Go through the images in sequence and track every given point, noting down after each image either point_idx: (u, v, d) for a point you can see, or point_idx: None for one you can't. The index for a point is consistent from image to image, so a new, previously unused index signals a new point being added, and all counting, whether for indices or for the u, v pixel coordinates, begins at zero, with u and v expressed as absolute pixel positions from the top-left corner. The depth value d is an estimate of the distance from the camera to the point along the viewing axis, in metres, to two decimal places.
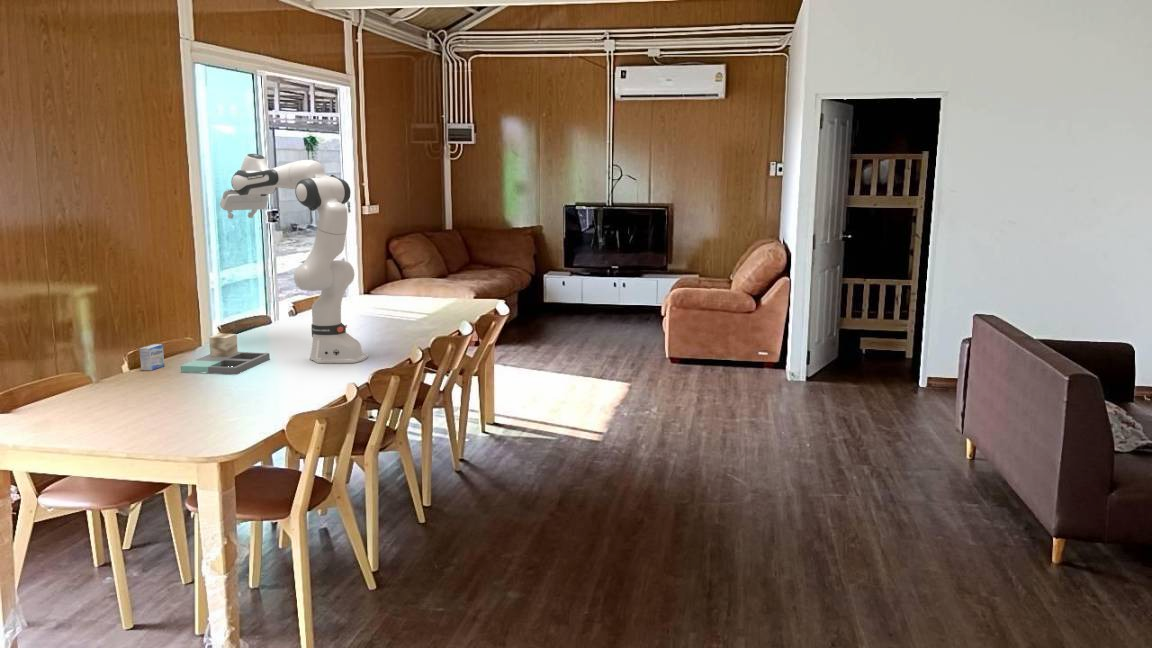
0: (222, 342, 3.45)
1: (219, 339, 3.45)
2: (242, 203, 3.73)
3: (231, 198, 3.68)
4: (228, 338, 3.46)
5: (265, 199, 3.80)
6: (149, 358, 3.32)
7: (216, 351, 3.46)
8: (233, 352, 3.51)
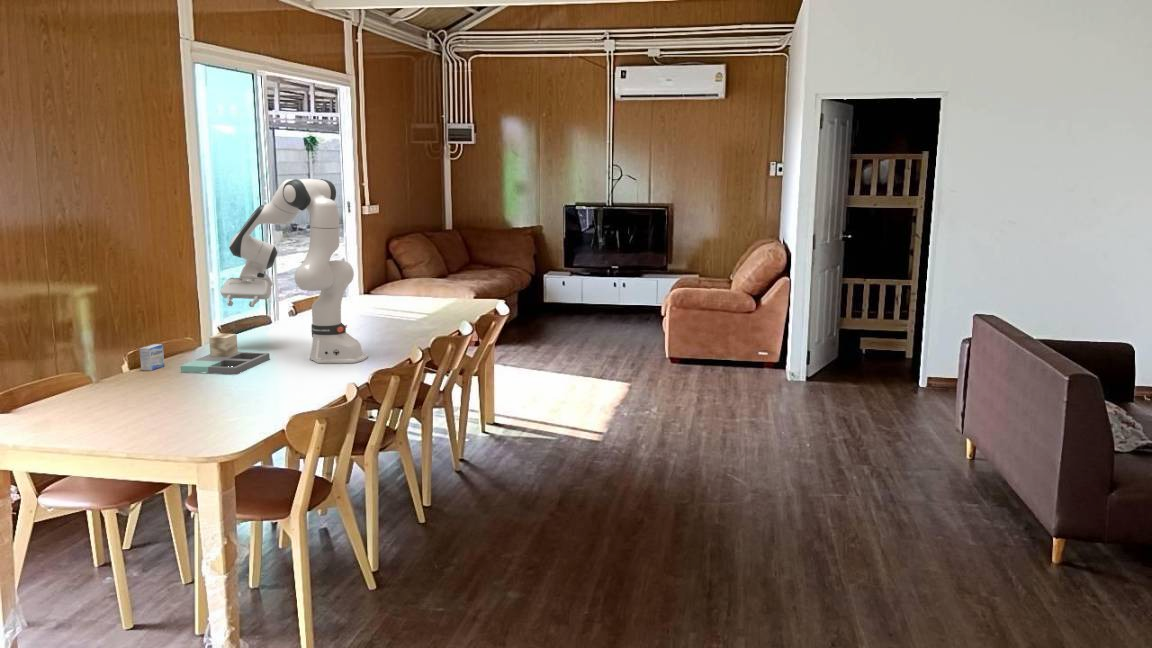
0: (222, 342, 3.45)
1: (219, 339, 3.45)
2: (240, 287, 3.65)
3: (229, 281, 3.67)
4: (228, 338, 3.46)
5: (264, 283, 3.64)
6: (149, 358, 3.32)
7: (216, 351, 3.46)
8: (233, 352, 3.51)
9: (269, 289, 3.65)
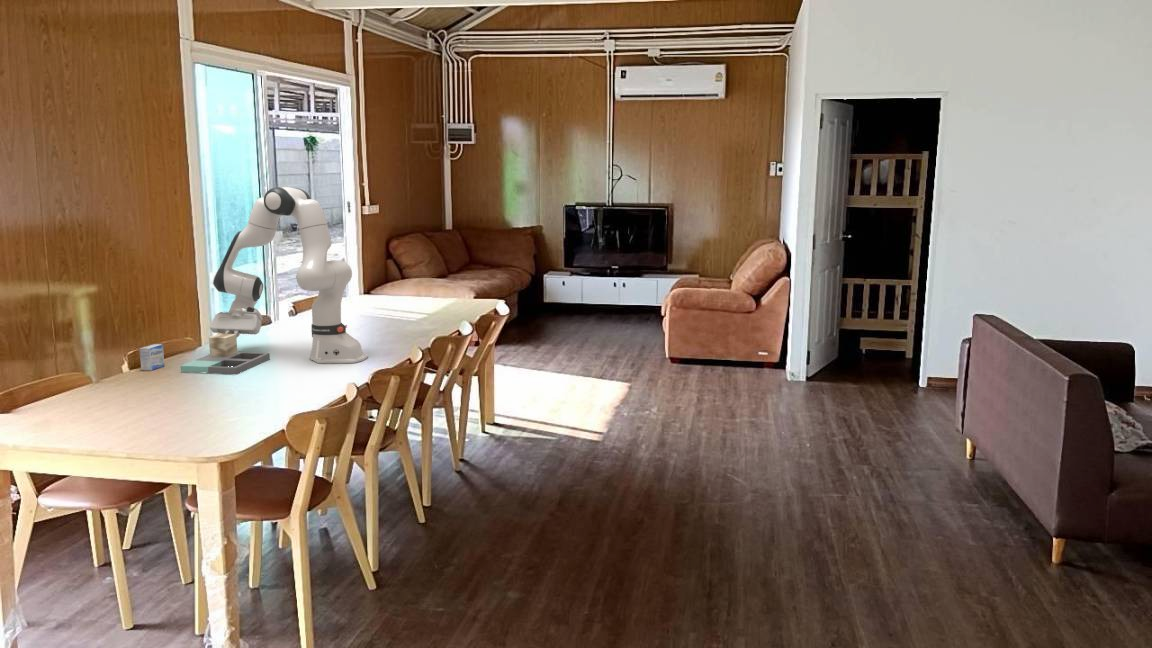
0: (222, 342, 3.45)
1: (219, 339, 3.45)
2: (229, 322, 3.57)
3: (218, 316, 3.59)
4: (228, 338, 3.46)
5: (254, 318, 3.56)
6: (149, 358, 3.32)
7: (215, 351, 3.46)
8: (233, 352, 3.50)
9: (259, 324, 3.57)
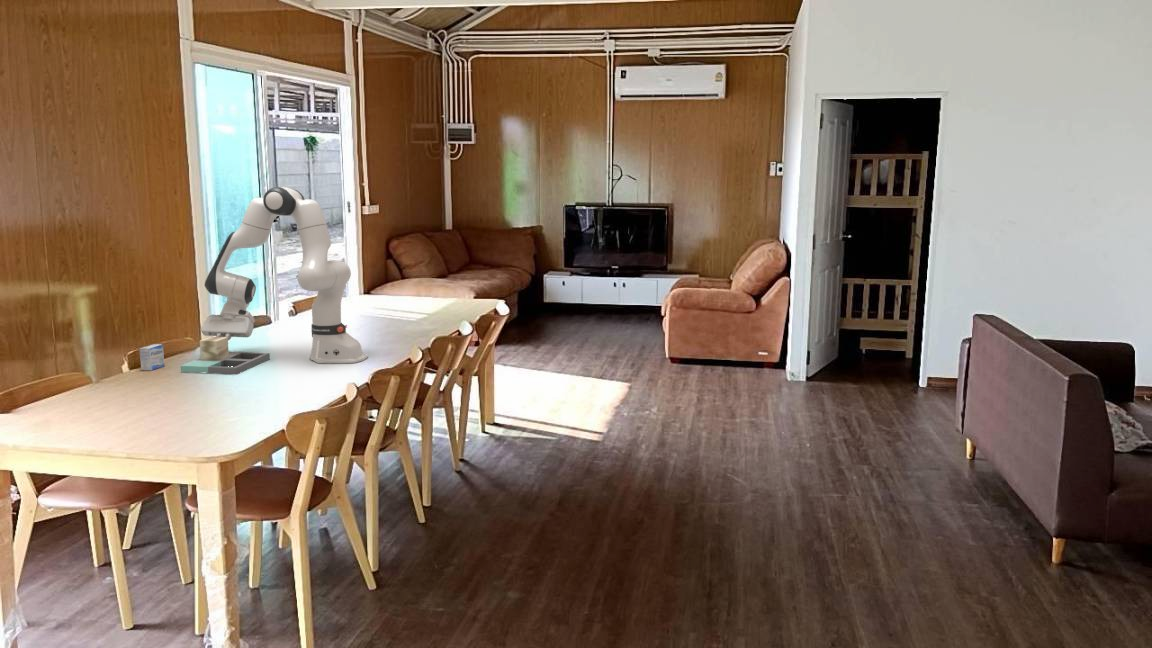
0: (213, 345, 3.39)
1: (210, 342, 3.39)
2: (221, 324, 3.51)
3: (209, 319, 3.53)
4: (219, 341, 3.40)
5: (246, 320, 3.50)
6: (149, 358, 3.32)
7: (206, 354, 3.40)
8: (224, 356, 3.44)
9: (251, 327, 3.51)
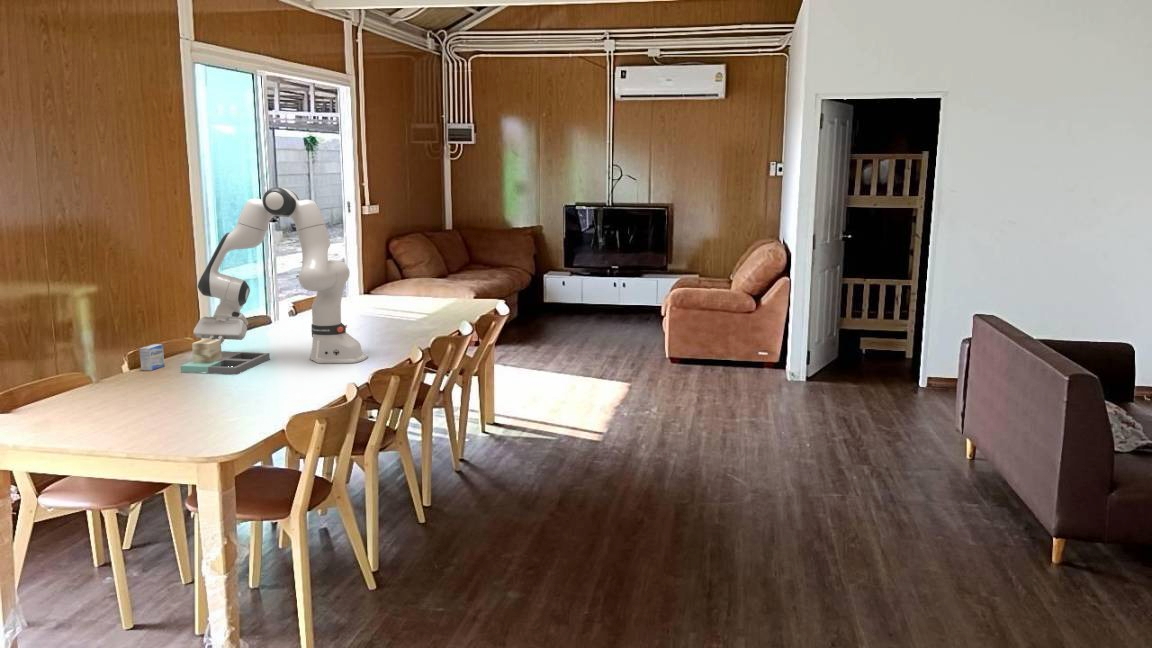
0: (206, 348, 3.34)
1: (202, 345, 3.34)
2: (214, 326, 3.46)
3: (202, 321, 3.48)
4: (212, 344, 3.35)
5: (239, 323, 3.45)
6: (149, 358, 3.32)
7: (199, 357, 3.35)
8: (217, 358, 3.39)
9: (244, 329, 3.46)
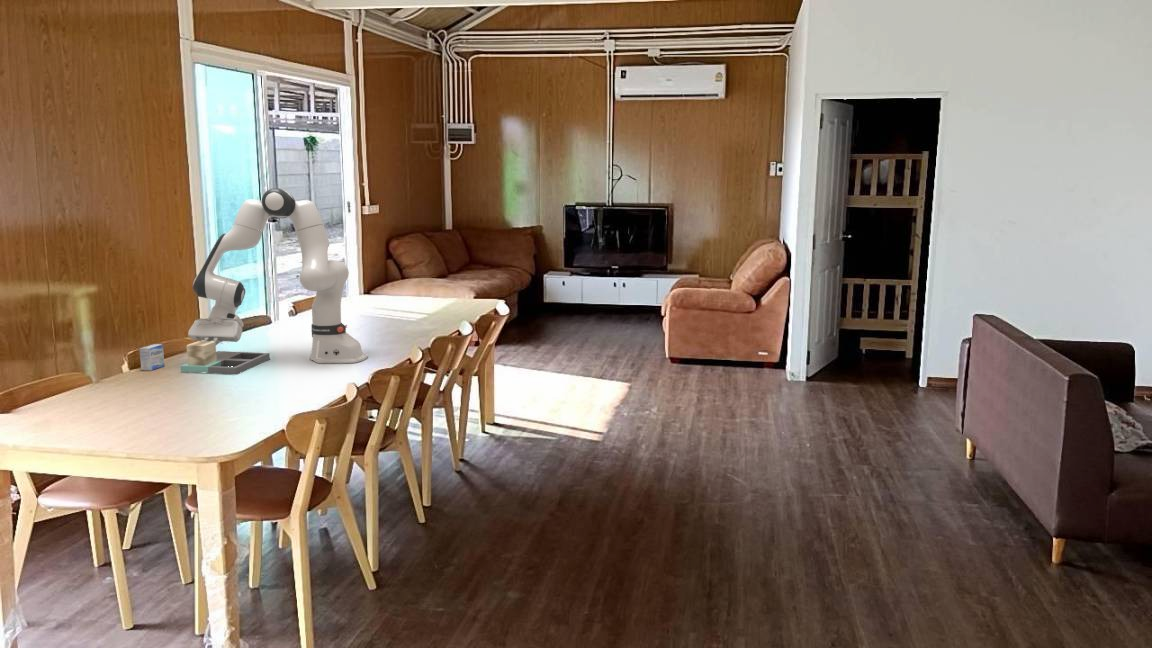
0: (200, 350, 3.30)
1: (197, 347, 3.30)
2: (208, 328, 3.43)
3: (197, 322, 3.45)
4: (206, 346, 3.32)
5: (234, 324, 3.42)
6: (149, 358, 3.32)
7: (193, 359, 3.31)
8: (212, 360, 3.36)
9: (240, 331, 3.43)
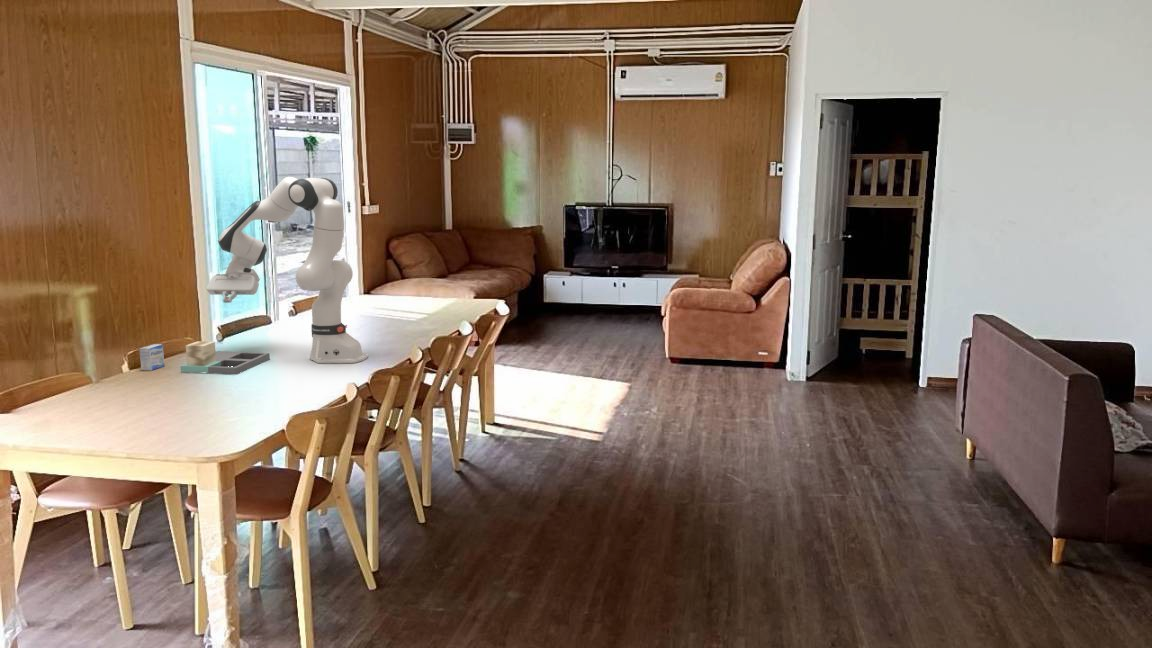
0: (199, 350, 3.30)
1: (196, 347, 3.30)
2: (226, 283, 3.56)
3: (215, 278, 3.58)
4: (205, 346, 3.31)
5: (251, 278, 3.55)
6: (149, 358, 3.32)
7: (192, 360, 3.31)
8: (211, 361, 3.35)
9: (256, 284, 3.56)
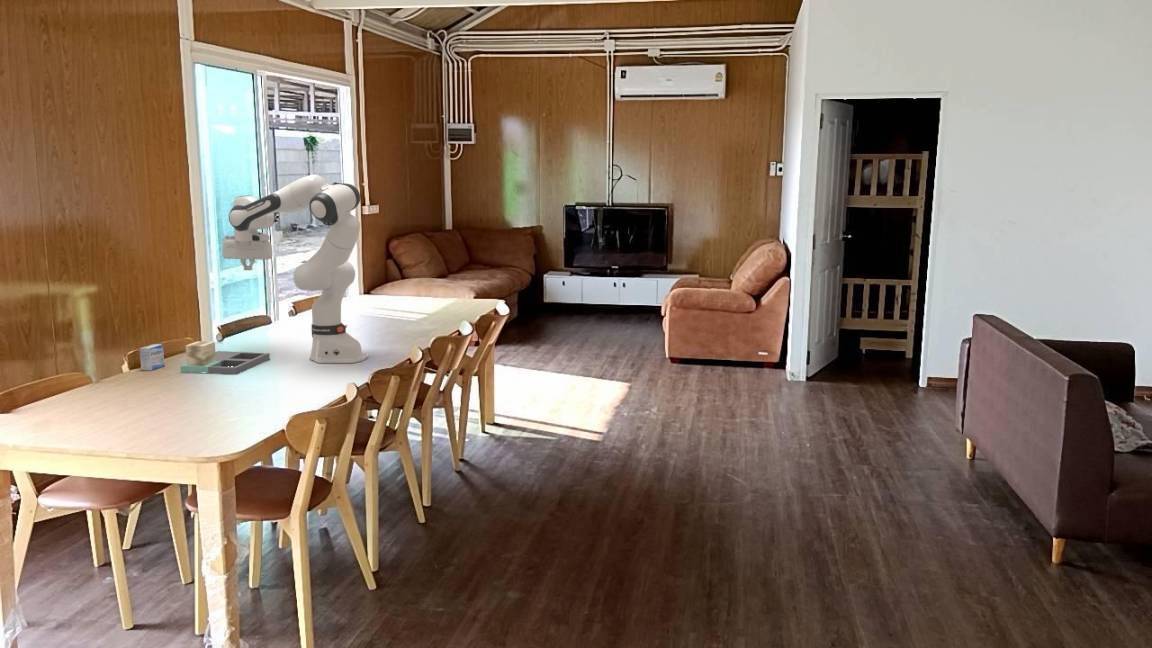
0: (199, 350, 3.30)
1: (196, 347, 3.30)
2: (240, 250, 3.57)
3: (226, 244, 3.57)
4: (205, 346, 3.31)
5: (262, 246, 3.54)
6: (149, 358, 3.32)
7: (192, 360, 3.31)
8: (211, 361, 3.35)
9: (269, 249, 3.57)
